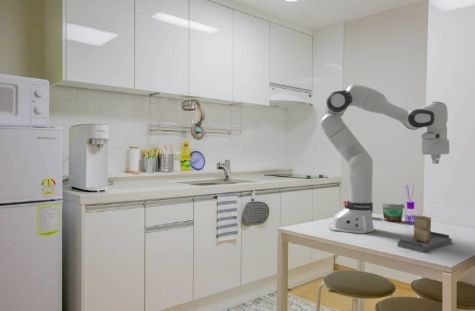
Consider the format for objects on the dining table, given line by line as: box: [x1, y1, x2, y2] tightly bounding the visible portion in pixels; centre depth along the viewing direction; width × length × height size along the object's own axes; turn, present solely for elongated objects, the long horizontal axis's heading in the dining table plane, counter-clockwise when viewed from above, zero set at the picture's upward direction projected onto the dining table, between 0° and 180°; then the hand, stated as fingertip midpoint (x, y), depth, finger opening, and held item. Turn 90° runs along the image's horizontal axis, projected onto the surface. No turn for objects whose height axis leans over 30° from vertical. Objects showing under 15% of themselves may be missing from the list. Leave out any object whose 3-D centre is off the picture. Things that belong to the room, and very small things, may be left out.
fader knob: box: [413, 215, 432, 242], centre depth 161 cm, size 4×5×10 cm
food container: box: [381, 202, 405, 223], centre depth 207 cm, size 12×6×10 cm, turn 87°
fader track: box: [397, 231, 452, 253], centre depth 163 cm, size 25×11×3 cm, turn 127°
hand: (435, 163), depth 182 cm, fingers closed
